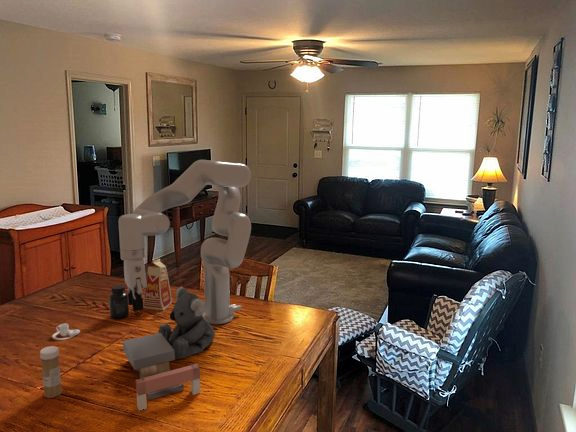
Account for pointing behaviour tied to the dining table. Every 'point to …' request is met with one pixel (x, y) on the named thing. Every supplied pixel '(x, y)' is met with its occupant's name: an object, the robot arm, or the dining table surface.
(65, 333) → the white looped ring piece
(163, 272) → the milk carton
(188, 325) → the koala plush
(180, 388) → the track
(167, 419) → the dining table surface
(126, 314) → the supplement bottle
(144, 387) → the pink u-shaped frame
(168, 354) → the slab
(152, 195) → the robot arm
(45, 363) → the sprinkles bottle
